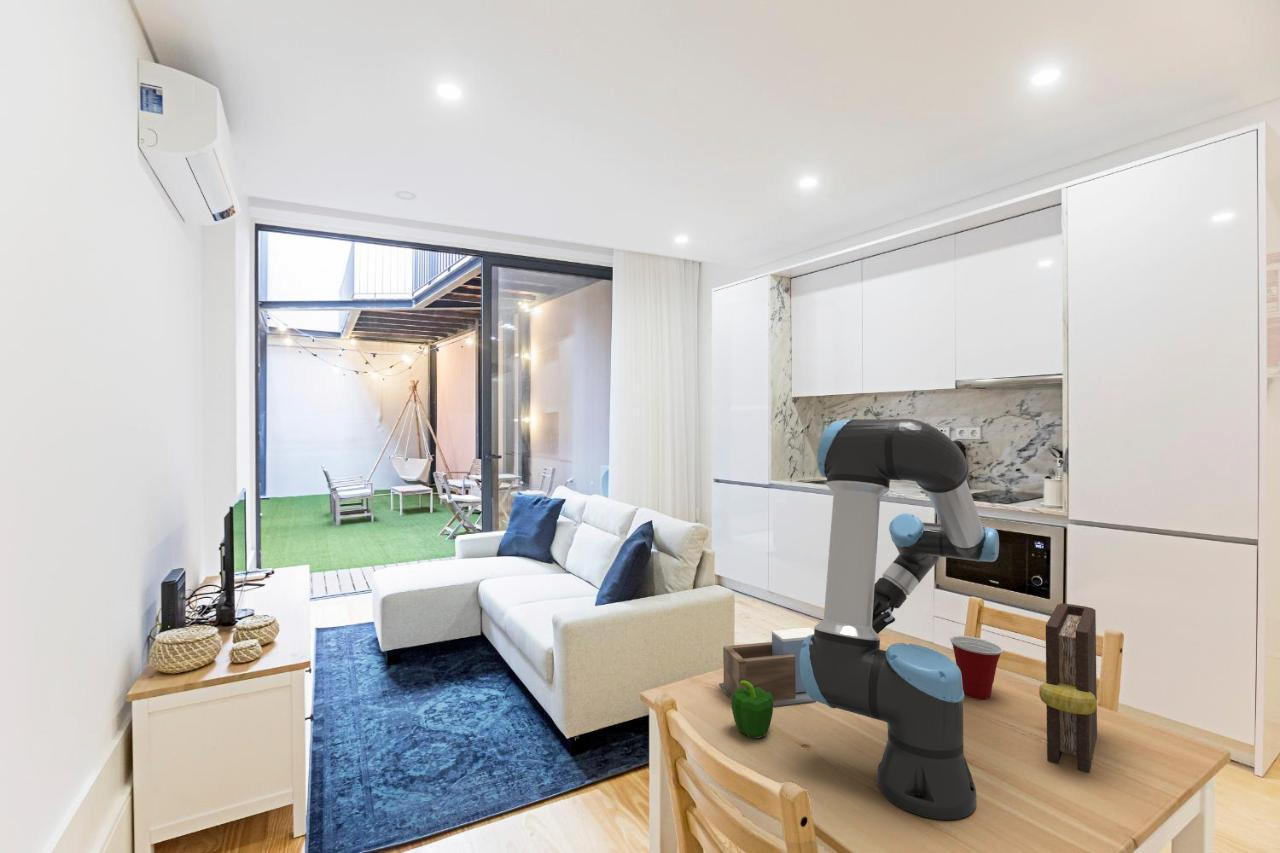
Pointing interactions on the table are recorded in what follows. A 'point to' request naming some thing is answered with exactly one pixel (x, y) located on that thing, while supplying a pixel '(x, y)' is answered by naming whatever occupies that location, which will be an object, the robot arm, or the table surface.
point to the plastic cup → (976, 664)
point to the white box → (791, 647)
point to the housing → (762, 673)
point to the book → (1071, 684)
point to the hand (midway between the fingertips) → (833, 660)
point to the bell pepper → (752, 710)
